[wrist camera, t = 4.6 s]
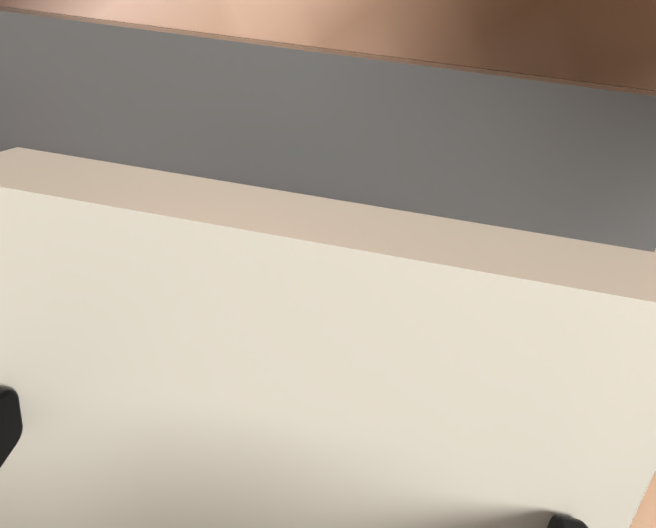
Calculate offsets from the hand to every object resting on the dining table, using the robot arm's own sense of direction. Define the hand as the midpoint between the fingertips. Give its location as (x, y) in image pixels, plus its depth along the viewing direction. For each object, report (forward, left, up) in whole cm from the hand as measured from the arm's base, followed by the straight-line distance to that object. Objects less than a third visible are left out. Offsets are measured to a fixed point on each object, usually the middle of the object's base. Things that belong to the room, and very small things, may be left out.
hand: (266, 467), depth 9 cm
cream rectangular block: (0, 0, -3) cm, 4 cm away
